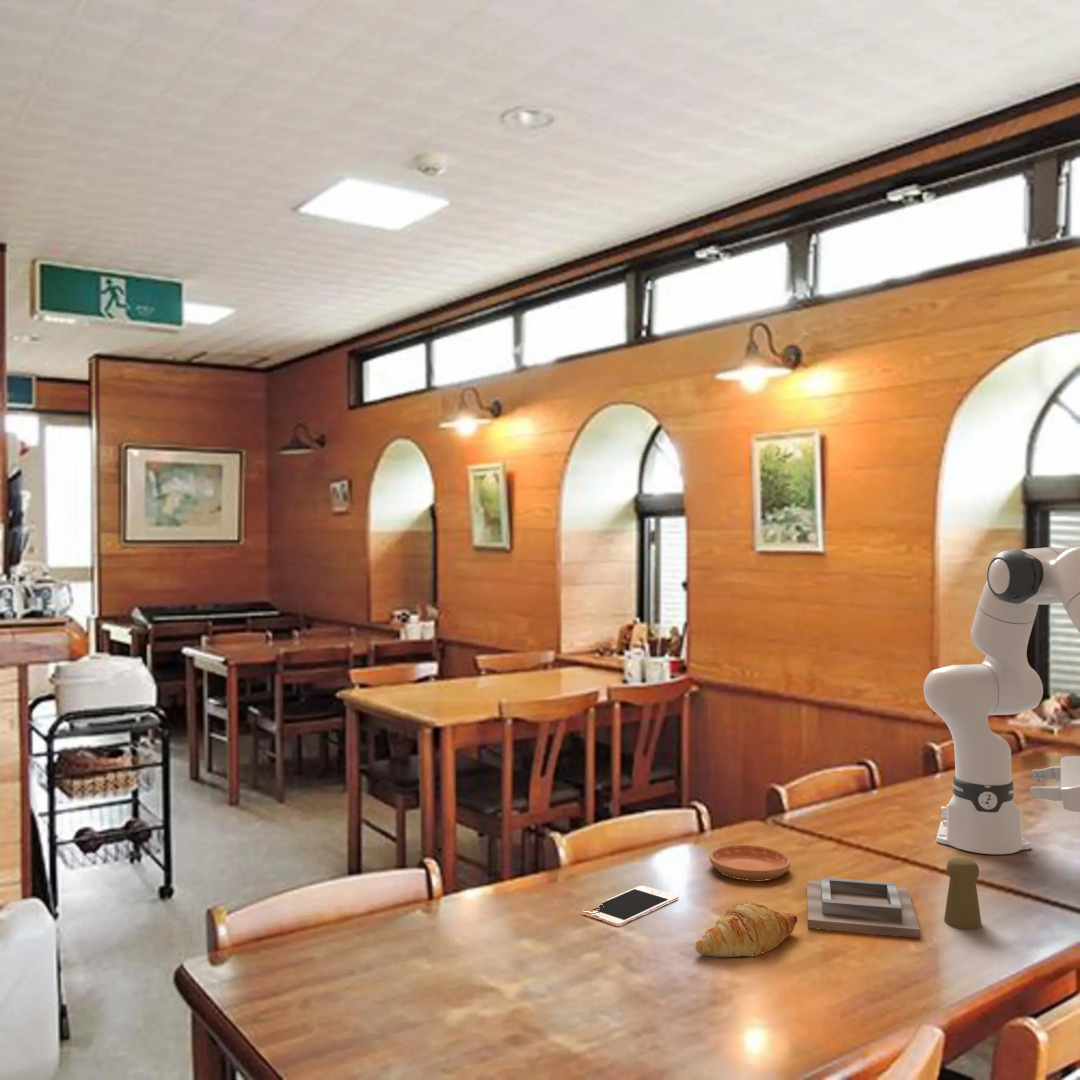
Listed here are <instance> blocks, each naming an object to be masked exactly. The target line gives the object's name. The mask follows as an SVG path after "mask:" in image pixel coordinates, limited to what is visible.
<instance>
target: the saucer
mask: <svg viewBox="0 0 1080 1080" xmlns="http://www.w3.org/2000/svg"><path fill="white" fill-rule="evenodd" d="M708 858H709V861H710V863H711V865H712V866H713V867H714V868H715V869H716V870H717V871H718V872H719V873H720V872H721V874H722V873H723V874H725V875H728V876H731V877H735V878H740V879H748V880H765V879H773V878H776V877H778V878H780V877H781V876H783V875H784V874H785V873H786V872H787V871H789V869H790V868H791V864H792V863H791V862H792V861H791V858H790V857H789V856H788V855H787V854H786V853H784V852H781V851H779V850H776V849H773V848H770V847H765V846H760V845H753V844H752V845H748V844H731V845H726V846H720V847H716V848H714V849H713V850H710V852H709V857H708ZM723 874H722V875H723ZM725 875H724V876H725ZM728 876H727V877H728ZM779 876H780V877H779ZM776 879H777V878H776ZM773 880H774V879H773Z"/></svg>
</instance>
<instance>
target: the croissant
mask: <svg viewBox="0 0 1080 1080" xmlns="http://www.w3.org/2000/svg"><path fill="white" fill-rule="evenodd" d="M719 917H720V918H718V919H717V921H716V922H715V925H714V927H712V928H710V929H707V930H706V931H704V935H702V939H698V940H696V942H695V945H694V947H695V950H696V952H697V954H700V955H703V956H709V957H715V958H716V957H718V958H733V957H735V958H740V956H747V957H753V956H752V955H755V956H754V957H757V956H759V955H761V954H763V953H762V952H766V951H768V952H770V951H773V949H776V948H777V947H778V946H779V945H780V944H781V943H782V942H783V941H784V940H785V939H786V938H787V937H789V936H791V934H792V933H793V932H794V929H795V926H796V924H797V922H798V917H797V915H794V914H793V913H790V912H787V913H786V912H783V911H777V910H774V909H772V908H771V909H769V908H767V906H765V905H762V904H758V903H753V902H751V903H750V902H745V903H740V904H736V905H733V906H731V907H730V908H729V909H727V910H726V911H725V913H724V915H723V916H719ZM766 953H767V952H766Z"/></svg>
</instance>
